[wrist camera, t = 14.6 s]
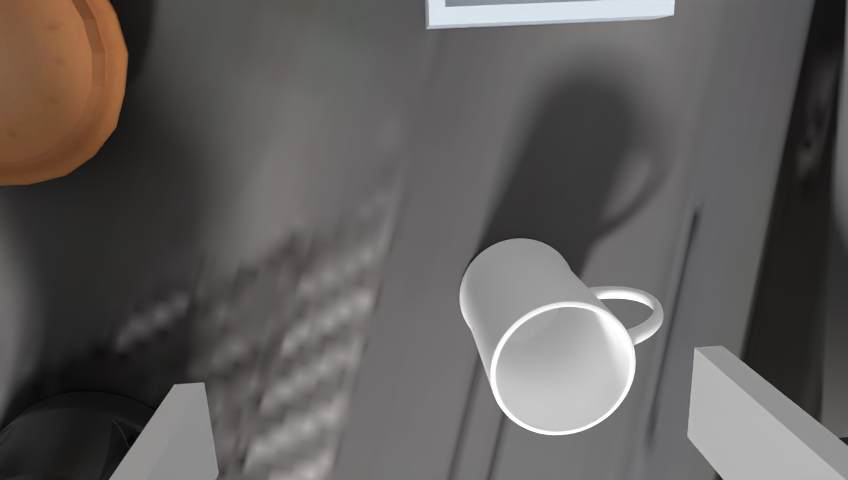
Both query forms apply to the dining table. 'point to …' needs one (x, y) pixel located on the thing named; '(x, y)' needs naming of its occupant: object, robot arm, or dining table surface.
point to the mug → (550, 337)
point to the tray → (539, 12)
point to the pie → (57, 85)
